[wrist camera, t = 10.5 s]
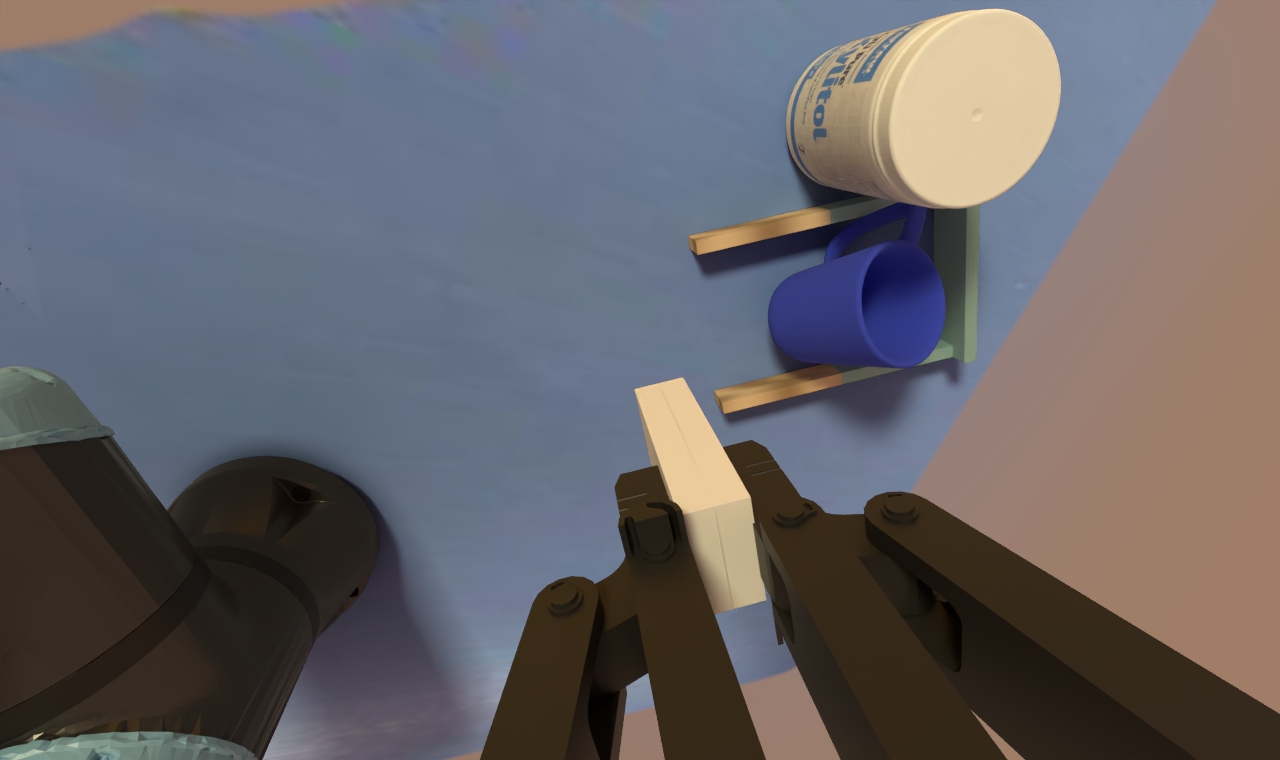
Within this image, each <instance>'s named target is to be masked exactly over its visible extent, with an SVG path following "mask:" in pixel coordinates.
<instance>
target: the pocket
mask: <svg viewBox="0 0 1280 760" xmlns="http://www.w3.org/2000/svg"><path fill="white" fill-rule="evenodd" d="M895 203H897V201H892V200H887V199H883V198H878V197H873V196H868V195H863V196H859V197H855V198H850V199H846V200H842V201H838V202H833V203H829V204H825V205H820V206H816V207H819V208H823V209H827V210H830V221H831V224H833V223H837V222H841V221H846V220H850V219H854V218H859V217H863V216H867V215H869V214H871V213H873V212H875V211H877V210H880V209H882V208H885V207H887V206H890V205H892V204H895ZM979 222H980V205H977V206H973V207H968V208H959V209H951V208H944V209H940V208H934V265H935V267H936V268H937V271H938V273H939V275H940V278H941V281H942V284H943V289H944V294H945V306H946V307H945V321H944V326H943V331H942V334H941V337H940V339H939V342H938V344H937V346H936V347H935V349H934V350H933V352H932V353H931V354H930V356H929V357H928V358H927V359H925V360H924V361H923V362H922V363H920V364H918V365H922V364H926V363H930V362H934V361H938V360H942V359H946V358H950V357H954V358H956V359H957V360H959V361H961V362H963V363H967V362H971V361H975V360H976V345H977V304H978V263H979ZM831 365H832V366H833V367H834V368H836V369H837V370H838V371H839V372H841V373H842V384H846V383H850V382H854V381H858V380H862V379H866V378H870V377H874V376H878V375H882V374H886V373H890V372H894V371H898V370H902V369H897V368H882V367H867V366H852V365H836V364H831ZM918 365H916V366H918ZM905 369H906V368H905Z"/></svg>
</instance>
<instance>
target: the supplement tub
mask: <svg viewBox="0 0 1280 760" xmlns="http://www.w3.org/2000/svg"><path fill="white" fill-rule="evenodd" d="M1060 93H1061V79H1060V70H1059V65H1058V61H1057V57H1056V54H1055V52H1054V49H1053V47H1052V45H1051V43H1050V41H1049V40H1048V38H1047V36H1046V35H1045V34H1044V32H1043V31H1042V30H1041V29H1040V28H1039V27H1038V26H1037V25H1036V24H1035V23H1034V22H1032V21H1031V20H1030V19H1028V18H1026V17H1024V16H1023V15H1021V14H1018V13H1016V12H1012V11H1008V10H1002V9H985V10H978V11H975V10H974V11H964V12H957V13H952V14H948V15H944V16H941V17H937V18H933V19H929V20H926V21H922V22H919V23H915V24H912V25H909V26H905V27H902V28H898V29H895V30H891V31H888V32H884V33H881V34H877V35H874V36H871V37H867V38H864V39H860V40H857V41H853V42H850V43H847V44H844V45H840V46H837V47H835V48H833V49H831V50H829V51H827V52H826V53H824V54H823V55H821V56H820V57H819V58H817V59H816V60H815V61H814V62H813V63H812V64H811V65H810V66H809V67H808V68H807V69H806V71H805V72H804V73H803V75H802V76H801V77H800V79H799V81H798V82H797V84H796V86H795V88H794V90H793V93H792V95H791V98H790V101H789V105H788V110H787V119H786V132H787V141H788V145H789V149H790V152H791V154H792V157H793V159H794V160H795V162H796V164H797V165H798V167H799V168H800V169H801V170H802V171H803V172H804V173H805V174H806V175H807V176H808V177H809V178H810V179H812V180H813V181H815V182H817V183H819V184H821V185H823V186H827V187H831V188H835V189H840V190H845V191H849V192H854V193H859V194H863V195H868V196H873V197H878V198H883V199H887V200H892V201H897V202H902V203H907V204H912V205H917V206H923V207H928V208H940V209H944V208H951V209H959V208H968V207H973V206H977V205H980V204H983V203H986V202H988V201H990V200H992V199H994V198H996V197H998V196H999V195H1001V194H1003V193H1004V192H1005V191H1007V190H1008V189H1010V188H1011V187H1012V186H1014V185H1015V184H1016V183H1017V182H1018V181H1019V180H1020V179H1021V178H1022V177H1023V176H1024V175H1025V174H1026V173H1027V172H1028V171H1029V169H1030V168H1031V167H1032V166H1033V164H1034V163H1035V162H1036V160H1037V159H1038V157H1039V156H1040V154H1041V153H1042V151H1043V149H1044V147H1045V145H1046V144H1047V141H1048V139H1049V137H1050V135H1051V132H1052V130H1053V127H1054V124H1055V121H1056V118H1057V113H1058V109H1059V104H1060Z"/></svg>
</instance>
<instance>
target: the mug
mask: <svg viewBox="0 0 1280 760" xmlns="http://www.w3.org/2000/svg"><path fill="white" fill-rule="evenodd" d="M926 212H927V207H923V206H917V205H912V204H907V203H902V202H897V203H895V204H892V205H890V206H887V207H885V208H882V209H880V210H877V211H875V212H873V213H871V214H869V215H867V216H865V217H862V218H860V219H859V220H857V221H855V222H853V223H851V224H850V225H848V226H847V227H845V228H844V229H842V230H841V231H840V232H839V233H838V234H837V235H836V236H835V237H834V238H833V239H832V240H831V242H830V243H829V245H828V247H827V250H826V253H825V263H823V264H820V265H817V266H815V267H812V268H809V269H806V270H803V271H800V272H798V273H795V274H793V275H791V276H790V277H788V278H787V279H785V280H784V281H783V282H782V283H781V284H780V285H779V286H778V287H777V288H776V290H775V292H774V293H773V295H772V298H771V300H770V304H769V309H768V324H769V328H770V332H771V335H772V337H773V339H774V341H775V343H776V344H777V346H778V347H779V348H780V349H781V351H783V352H784V353H785V354H786V355H788V356H789V357H791V358H793V359H795V360H798V361H802V362H808V363H821V364H836V365H852V366H867V367H882V368H897V369H905V368H911V367H914V366H916V365H918V364H920V363H922V362H923V361H924V360H925V359H927V358H928V357H929V356H930V354H931V353H932V352H933V350H934V349H935V347H936V346H937V344H938V342H939V339H940V337H941V334H942V331H943V326H944V321H945V307H946V306H945V294H944V289H943V284H942V281H941V278H940V275H939V273H938V271H937V268H936V267H935V265H934V263H933V262H932V260H931V259H930V257H929V256H928V255H927V254H926V253H925V252H924V251H923V250H922V249H921V248H920V247H918V246H917V244H918V242H919V240H920V237H921V234H922V231H923V228H924V223H925V219H926ZM904 217H907V219H906V223H905V226H904V230H903V232H902V234H901V236H900V238H899V239H898V240H890V241H886V242H883V243H880V244H878V245H875V246H872V247H869V248H866V249H863V250H860V251H858V252H855V253H852V254H849V255H846V256H843V257H840V255H841V254H842V252H843V250H844V249H845V248H846V247H847V246H848V245H849V244H850V243H851V242H852V241H853V240H855V239H856V238H858V237H859V236H861V235H863V234H865V233H867V232H869V231H871V230H873V229H875V228H878V227H880V226H882V225H885V224H888V223H890V222H893V221H896V220H899V219H901V218H904ZM839 257H840V258H839Z"/></svg>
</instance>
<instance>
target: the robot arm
mask: <svg viewBox="0 0 1280 760" xmlns="http://www.w3.org/2000/svg"><path fill="white" fill-rule="evenodd" d="M634 390H635V394H636V398H637V403H638V407H639V412H640V416H641V421H642V425H643V430H644V434H645V438H646V443H647V447H648V452H649V456H650V461H651V465H652V467H648V468H644V469H640V470H636V471H632V472H628V473H624V474H620V476H619V479H618V481H617V483H616V485H615V492H616V497H617V503H618V508H619V513H620V518H619V524H618V528H619V532H620V536H621V539H622V543H623V547H624V551H625V555H626V556H625V559H624V561H623V563H622V564H621V566H620V567H619V568H618V569H617V570H616V571H615V572H614V573H613V574H611V575H610V576H608V577H607V578H605V579H603V580H602V581H600V582H598V583H596V584H594V582H593V581H591V580H589V579H587V578H585V577H575V576H571V577H567V578H562V579H559V580H557V581H555V582H553V583H551V584H549V585H547V586H546V587H545V588H544V589H543V590H542V591H541V592H540V593H539V594H538V595H537V597H536V599H535V600H534V602H533V604H532V607H531V610H530V613H529V616H528V619H527V622H526V625H525V628H524V631H523V634H522V637H521V640H520V643H519V646H518V648H517V651H516V654H515V657H514V660H513V663H512V666H511V669H510V672H509V675H508V678H507V681H506V684H505V687H504V690H503V693H502V696H501V699H500V702H499V705H498V708H497V711H496V714H495V717H494V720H493V722H492V725H491V728H490V731H489V734H488V737H487V740H486V743H485V746H484V749H483V752H482V755H481V758H480V760H619V753H620V745H621V736H622V728H623V721H624V713H625V705H626V697H627V691H626V686H628V685H629V684H631V683H632V682H634V681H636V680H637V679H639V678H641V677H642V676H644V675H645V674H647V673H649V679H650V684H651V689H652V694H653V699H654V705H655V710H656V715H657V720H658V725H659V731H660V736H661V741H662V746H663V751H664V757H665V760H766V759H765V756H764V753H763V750H762V747H761V745H760V742H759V739H758V736H757V733H756V730H755V728H754V725H753V722H752V719H751V716H750V714H749V711H748V708H747V705H746V702H745V699H744V697H743V694H742V691H741V688H740V685H739V682H738V680H737V677H736V674H735V671H734V668H733V665H732V663H731V660H730V657H729V654H728V651H727V649H726V646H725V643H724V640H723V637H722V634H721V632H720V629H719V626H718V623H717V620H716V617H715V615H714V614H717V613H721V612H724V611H728V610H732V609H736V608H739V607H743V606H747V605H751V604H754V603H758V602H762V601H766V595H765V588H764V585H765V587H766V589H767V591H768V593H769V595H770V597H771V601H772V608H773V615H774V621H775V628H776V635H777V640H778V645H781V644H783V638H784V640H785V642H786V644H787V646H788V648H789V650H790V653H791V655H792V657H793V659H794V661H795V663H796V665H797V667H798V670H799V672H800V674H801V676H802V678H803V680H804V682H805V685H806V687H807V689H808V691H809V693H810V695H811V697H812V699H813V701H814V704H815V706H816V708H817V710H818V712H819V714H820V716H821V719H822V721H823V723H824V725H825V727H826V729H827V731H828V734H829V736H830V738H831V740H832V742H833V744H834V746H835V748H836V751H837V753H838V755H839V757H840V759H841V760H1007V759H1006V757H1005V756H1004V754H1003V753H1002V752H1001V750H1000V749H999V748H998V746H997V745H996V744H995V742H994V741H993V740H992V738H991V737H990V736H989V734H988V733H987V731H986V730H985V729H984V727H983V726H982V725H981V723H980V722H979V721H978V719H977V718H976V717H975V715H974V714H973V713H972V711H973V712H974V713H975V714H976V715H977V716H978V717H980V718H981V719H982V720H983V721H984V722H985V723H986V724H987V725H988V726H989V727H990V728H991V729H993V730H994V731H995V732H996V733H997V734H998V735H999V736H1000V737H1001V738H1002V739H1004V741H1005V742H1007V743H1008V744H1009V745H1010V746H1011V747H1012V748H1013V749H1014V750H1015V751H1016V752H1017V753H1018V754H1020V755H1021V756H1022V757H1023V758H1024V759H1025V760H1280V714H1279V713H1277V712H1276V711H1274V710H1272V709H1271V708H1269V707H1267V706H1266V705H1264V704H1262V703H1261V702H1259V701H1257V700H1256V699H1254V698H1253V697H1251V696H1249V695H1248V694H1246V693H1244V692H1242V691H1241V690H1239V689H1238V688H1236V687H1234V686H1233V685H1231V684H1229V683H1228V682H1226V681H1225V680H1223V679H1221V678H1220V677H1218V676H1216V675H1215V674H1213V673H1211V672H1210V671H1208V670H1206V669H1205V668H1203V667H1201V666H1200V665H1198V664H1197V663H1195V662H1193V661H1192V660H1190V659H1188V658H1187V657H1185V656H1183V655H1181V654H1180V653H1178V652H1177V651H1175V650H1173V649H1172V648H1170V647H1169V646H1167V645H1165V644H1163V643H1162V642H1160V641H1159V640H1157V639H1155V638H1154V637H1152V636H1150V635H1149V634H1147V633H1145V632H1144V631H1142V630H1141V629H1139V628H1137V627H1136V626H1134V625H1132V624H1131V623H1129V622H1127V621H1126V620H1124V619H1122V618H1121V617H1119V616H1117V615H1116V614H1114V613H1112V612H1111V611H1109V610H1107V609H1106V608H1104V607H1103V606H1101V605H1099V604H1098V603H1096V602H1094V601H1093V600H1091V599H1089V598H1087V597H1086V596H1085V595H1083V594H1081V593H1080V592H1078V591H1076V590H1075V589H1073V588H1071V587H1070V586H1068V585H1066V584H1065V583H1063V582H1061V581H1060V580H1058V579H1056V578H1055V577H1053V576H1052V575H1050V574H1048V573H1047V572H1045V571H1043V570H1042V569H1040V568H1038V567H1037V566H1035V565H1033V564H1032V563H1030V562H1029V561H1026V560H1025V559H1024V558H1022V557H1020V556H1019V555H1017V554H1015V553H1014V552H1012V551H1010V550H1009V549H1007V548H1006V547H1004V546H1002V545H1001V544H999V543H997V542H996V541H994V540H992V539H991V538H989V537H987V536H986V535H984V534H982V533H981V532H979V531H978V530H976V529H974V528H972V527H971V526H969V525H968V524H966V523H964V522H963V521H961V520H959V519H958V518H956V517H954V516H953V515H951V514H950V513H948V512H946V511H945V510H943V509H941V508H940V507H938V506H936V505H935V504H933V503H931V502H930V501H928V500H927V499H924V498H922V497H920V496H918V495H915V494H911V493H906V492H886V493H883V494H879V495H876V496H874V497H873V498H872V499H870V500H869V501H868V502H867V504H866V506H865V508H864V514H852V515H836V514H829V513H825V512H824V511H823V509H822V508H821V507H820V506H819V505H817V504H816V503H815V502H814V501H811V500H808V499H806V498H801V496H800V495H799V493H798V492H797V491H796V489H795V488H794V486H793V485H792V483H791V482H790V481H789V479H788V478H787V476H786V475H785V474H784V472H783V471H782V469H780V467H779V465H778V464H777V462H776V461H775V460H774V458H773V457H772V455H771V454H770V452H769V451H768V450H767V448H766V447H764V446H762V445H760V444H758V443H756V442H754V441H753V440H750V441H746V442H742V443H738V444H734V445H730V446H726V447H722V446H721V444H720V442H719V440H718V439H717V437H716V435H715V433H714V432H713V430H712V428H711V426H710V425H709V423H708V421H707V419H706V418H705V416H704V414H703V412H702V410H701V409H700V407H699V405H698V403H697V402H696V400H695V398H694V396H693V395H692V393H691V391H690V389H689V388H688V386H687V384H686V382H685V381H684V379H683V378H678V379H674V380H670V381H666V382H662V383H658V384H654V385H650V386H646V387H642V388H637V389H634ZM114 434H115V433H114V432H113V430H112V429H110V428H109V427H107V426H103V425H101V424H100V422H99V421H98V420H97V419H96V418H95V416H94V415H93V414H92V413H91V412H90V411H89V409H88V408H87V407H86V406H85V405H84V403H83V402H82V401H81V400H80V399H79V397H78V396H77V395H76V394H75V393H74V391H73V390H72V389H71V388H70V387H69V385H68V384H67V383H66V382H65V381H63V380H62V379H61V378H59V377H58V376H56V375H54V374H52V373H50V372H48V371H45V370H42V369H38V368H33V367H24V366H15V367H6V368H1V369H0V760H262V759H263V757H264V754H265V752H266V750H267V748H268V745H269V743H270V741H271V739H272V736H273V734H274V732H275V730H276V727H277V725H278V723H279V721H280V718H281V716H282V714H283V711H284V709H285V707H286V705H287V702H288V700H289V698H290V696H291V693H292V691H293V689H294V687H295V684H296V682H297V680H298V678H299V675H300V673H301V671H302V669H303V666H304V664H305V662H306V659H307V657H308V655H309V653H310V650H311V648H312V646H313V644H314V642H315V640H316V639H317V638H318V637H319V636H320V635H321V634H322V633H323V632H324V631H325V630H326V629H327V628H328V627H329V626H330V625H331V624H332V623H333V622H334V621H335V620H336V619H337V618H338V617H339V616H340V615H341V614H342V613H343V612H344V611H346V610H347V609H348V608H349V607H350V606H351V605H352V604H353V603H354V602H355V600H356V599H357V598H358V597H359V595H360V594H361V593H362V591H363V589H364V588H365V586H366V584H367V582H368V580H369V578H370V575H371V573H372V570H373V568H374V565H375V563H376V560H377V556H378V550H379V537H378V531H377V526H376V523H375V520H374V518H373V516H372V514H371V512H370V510H369V508H368V507H367V505H366V504H365V502H364V501H363V499H362V498H361V497H360V496H359V495H358V494H357V493H356V492H355V491H354V490H353V489H352V488H351V487H350V486H349V485H348V484H346V483H345V482H344V481H342V480H341V479H339V478H338V477H336V476H335V475H333V474H331V473H330V472H328V471H326V470H324V469H322V468H319V467H317V466H315V465H312V464H309V463H306V462H302V461H299V460H294V459H289V458H283V457H272V456H258V457H248V458H242V459H237V460H233V461H229V462H226V463H223V464H221V465H218V466H216V467H214V468H212V469H210V470H208V471H207V472H205V473H204V474H202V475H201V476H199V477H198V478H197V479H196V480H195V481H194V482H192V483H191V484H190V485H189V486H188V487H187V488H186V489H185V490H184V491H183V492H182V493H181V494H180V495H179V496H178V497H177V498H176V499H175V500H174V501H173V503H172V504H171V505H170V507H169V508H168V510H166V509H165V508H164V506H163V505H162V504H161V502H160V501H159V500H158V498H157V497H156V495H155V494H154V493H153V491H152V490H151V489H150V487H149V486H148V485H147V483H146V482H145V481H144V479H143V478H142V476H141V475H140V474H139V472H138V471H137V470H136V468H135V467H134V466H133V464H132V463H131V461H130V460H129V459H128V457H127V456H126V455H125V453H124V452H123V451H122V449H121V448H120V446H119V445H118V444H117V442H116V441H115V440H114V438H113V437H112V436H113V435H114ZM782 635H783V637H782ZM970 709H971V710H972V711H971V710H970Z"/></svg>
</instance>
